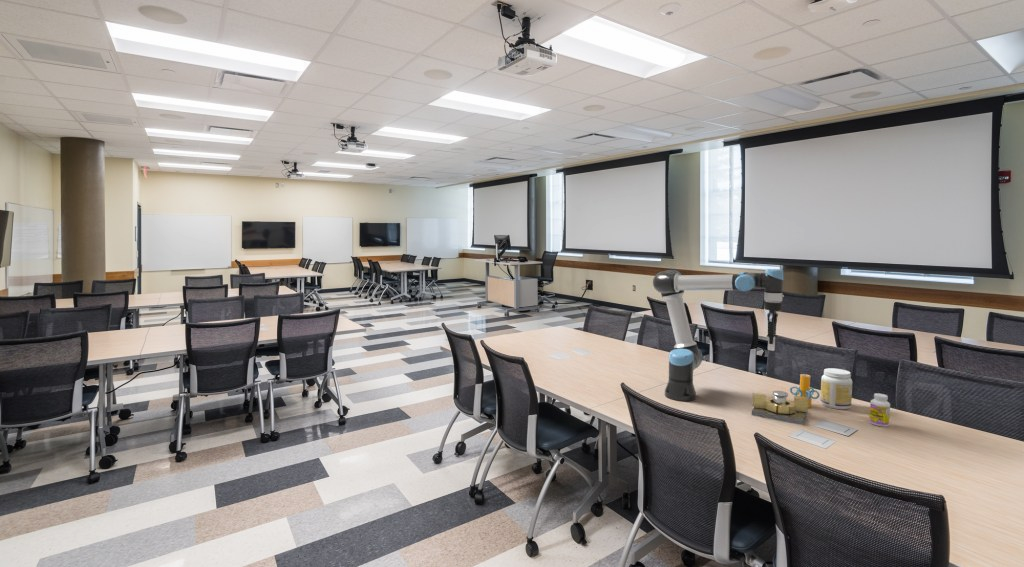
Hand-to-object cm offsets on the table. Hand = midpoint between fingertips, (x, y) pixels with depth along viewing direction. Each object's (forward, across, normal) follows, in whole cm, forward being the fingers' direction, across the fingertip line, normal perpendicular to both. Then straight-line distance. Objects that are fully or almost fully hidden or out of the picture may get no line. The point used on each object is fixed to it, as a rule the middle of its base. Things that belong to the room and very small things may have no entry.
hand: (771, 350), depth 223 cm
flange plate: (+26, -12, -6) cm, 30 cm away
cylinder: (+27, +6, -14) cm, 31 cm away
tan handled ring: (+24, -12, -6) cm, 27 cm away
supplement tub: (+27, +15, -26) cm, 40 cm away
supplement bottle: (+27, -1, -42) cm, 50 cm away
